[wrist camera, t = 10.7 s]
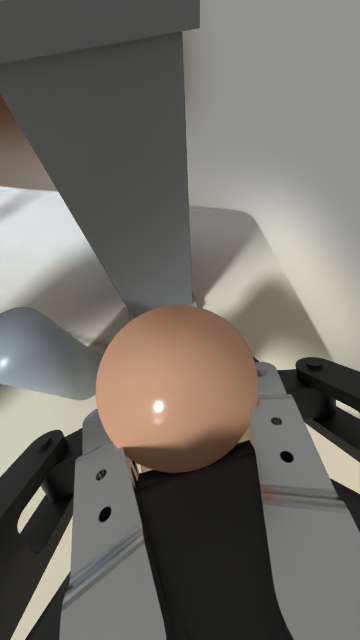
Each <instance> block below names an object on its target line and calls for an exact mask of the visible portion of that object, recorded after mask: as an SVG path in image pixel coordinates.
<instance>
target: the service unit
mask: <svg viewBox="0 0 360 640" xmlns="http://www.w3.org/2000/svg"><path fill="white" fill-rule="evenodd" d="M199 25H200V0H0V94H1V95H2V97H3V99H4V101H5V102H6V104H7V105H8V107H9V109H10V111H11V112H12V114H13V116H14V117H15V119H16V121H17V122H18V124H19V126H20V127H21V129H22V131H23V133H24V134H25V136H26V138H27V139H28V141H29V143H30V144H31V146H32V148H33V149H34V151H35V153H36V155H37V156H38V158H39V160H40V161H41V163H42V165H43V166H44V168H45V170H46V171H47V173H48V175H49V176H50V178H51V180H52V182H53V183H54V185H55V187H56V188H57V190H58V192H59V193H60V195H61V197H62V198H63V200H64V202H65V203H66V205H67V207H68V209H69V210H70V212H71V214H72V215H73V217H74V219H75V220H76V222H77V224H78V225H79V227H80V229H81V230H82V232H83V234H84V236H85V237H86V239H87V241H88V242H89V244H90V246H91V247H92V249H93V251H94V252H95V254H96V256H97V257H98V259H99V261H100V263H101V264H102V266H103V268H104V269H105V271H106V273H107V274H108V276H109V278H110V279H111V281H112V283H113V284H114V286H115V288H116V289H117V291H118V293H119V295H120V296H121V298H122V300H123V301H124V303H125V305H126V306H127V308H128V311H129V318H130V321H132V320H133V319H134V318H136V317H138V316H139V315H141V314H143V313H145V312H148V311H150V310H153V309H156V308H159V307H164V306H170V305H188V306H195V307H198V306H197V303H196V300H195V298H194V295H193V292H192V282H191V256H190V229H189V202H188V177H187V176H188V175H187V148H186V122H185V96H184V70H183V42H182V31H186V30H191V29H197V28H199V27H200V26H199Z"/></svg>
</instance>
